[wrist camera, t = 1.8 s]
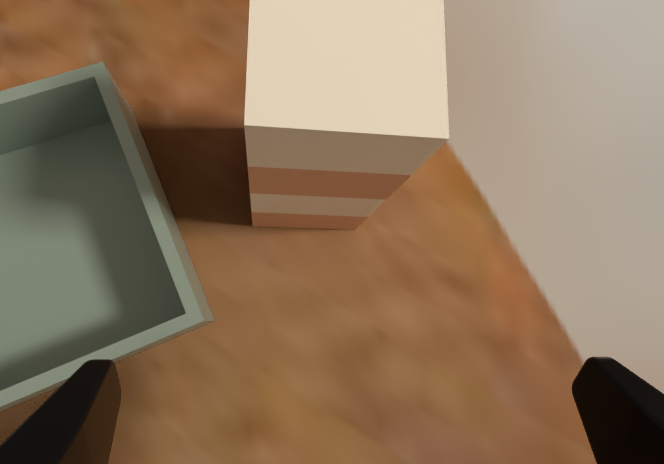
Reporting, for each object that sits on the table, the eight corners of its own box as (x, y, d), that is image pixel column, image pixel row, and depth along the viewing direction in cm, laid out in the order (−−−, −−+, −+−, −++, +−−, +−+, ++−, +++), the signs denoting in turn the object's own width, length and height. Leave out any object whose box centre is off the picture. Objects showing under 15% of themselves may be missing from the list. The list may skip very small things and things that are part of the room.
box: (214, 320, 21) (204, 320, 17) (-43, 429, 19) (-127, 460, 15) (131, 108, 23) (102, 61, 19) (-120, 187, 20) (-217, 153, 16)
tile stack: (354, 229, 23) (449, 138, 12) (252, 226, 23) (244, 125, 11) (354, 134, 24) (441, -38, 13) (256, 128, 23) (252, -62, 12)
